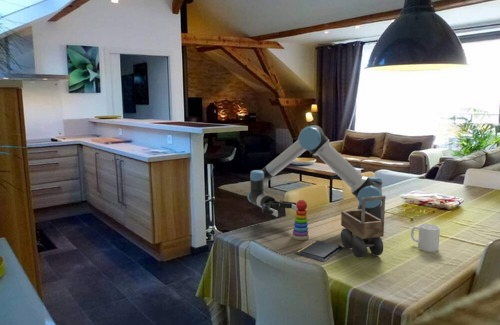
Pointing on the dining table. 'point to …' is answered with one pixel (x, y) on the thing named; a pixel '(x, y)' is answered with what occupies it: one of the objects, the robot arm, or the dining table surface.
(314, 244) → the dark navy book
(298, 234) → the stacking toy
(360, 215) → the trolley
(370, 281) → the dining table surface
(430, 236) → the cup
